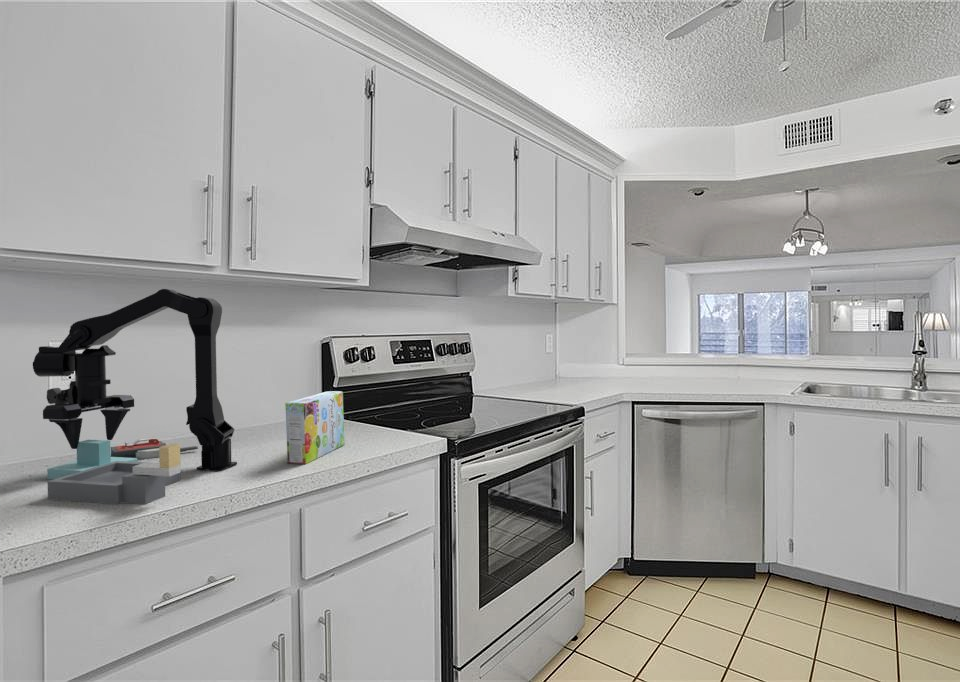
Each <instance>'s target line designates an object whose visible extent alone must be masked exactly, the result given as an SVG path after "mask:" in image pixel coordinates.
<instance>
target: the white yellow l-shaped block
mask: <svg viewBox="0 0 960 682" xmlns="http://www.w3.org/2000/svg"><path fill="white" fill-rule="evenodd" d="M180 448H181V444H180V443H169V444H168V443H167V444H166V445H165V446H161V447H159V457H158V458H159V462H147V463H142V464H139V465H136V466H133V467H132V468H133V474H134V475H151V476H168V477H169V476H172V475H175V474H177V473H181V472H182V470H181V452H180Z"/></svg>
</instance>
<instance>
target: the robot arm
mask: <svg viewBox="0 0 960 682" xmlns="http://www.w3.org/2000/svg"><path fill="white" fill-rule="evenodd" d="M168 308H169V309H172V310H174V311H176V312H179V313H182V314H186V315H187V320H188V324H189V327H190V329H191V332H192V333H193V336H194V337H193V338H194V354H195V355H194V362H195V364H194V365H195V368H194V369H195V370H194V371H195V399H194V400H195V401H194V403H193V404H191V405H188V406H186V410H185V411H186V415H187V418H186V419H187V421H186V423H185V425H186V426H188V428H189V431H190V433H192V434H193V435H194V436H195V437H196V439H197V441H198V443H199V445H200V446H201V452H200V455H201V465H200V466H197V467H196V470H198V471H199V470H200V471H214V472H215V471H216V472H217V471H218V472H221V471H223V470H226V469H229V468H231V467H233V466H236V465H238V461H232V437H233V435H234V432H235V428H234V427H233V426H232V424H230V423H228V422H227V421H226V420H225V417H224V412H223V406H222V404H221V401H220V400H219V397H218V387H217V385H218V384H217V382H218V381H217V380H218V379H217V334H218V331H219V328H220V325H221V321H222V320H221V319H222V315H223V314H222V313H223V308H222V305H221V303H220V302H218V301H217V300H216V299H214V298H208V297H202V296H201V297H194V296H191V295H187V294H184V293H181V292H177V291H176V290H174V289H169V288H161V289H159V290H157V292H154V293H152V294H150V295H148V296H146V297H143V298H141V299H140V300H137V301H134V302H132V303H130V304H128V305H126V306H124V307H121V308H119V309H117V310H115V311H112V312H110V313H107V314H103V315H99V316H93V317H90V318H86V319H81V320H78V321H75V322H73V323H72V324H71V325H70V327H69V331H68V335H67V336H66V337H65V338H64V340H63V341H62V342H61V344H60V345H59V346H50V345H49V346H48V345H47V346H46V345H45V346H39V347H38V352H37V353H36V354H35V356H34V359H33V361H32V370H33V372H34V374H35V375H36V376H37V377H39V378H41V377H46V378H47V377H70V376H71V375H72V374H73V372H74V379H75V380H71V381H70V383H69V388H66V389H61V388H59V387H53V388H50V389H47V390H46V400H47V403H48V404H49V405H46V406H45V407H44V408H43V410H42V420H48V421H49V422H50V423H55V424H56V425H57V426H59V427H60V429H61V431H62V433H63V434H64V436H65V438H66V440H67V442H68V444H69V446H70V448H71V450H77V447H78V443H79V442H80V439H81V438H80V437H81V431H82V424H83V417H80V416H81V414H82V413H85V412H86V413H87V412H91V411H97V410H100V413H101V414H102V415H103V417H104V421H105V435H106V436H105V437H106V439H107V440H106V441H113V439H114V437H115V436H116V433H117V431H118V429H119V428H120V425H121V423H122V422H123V420H124V419H125V417H126V416H127V414H128V412H130V411H131V408H134V407H135V399H134V397H133V396H132V395H131V394H130V395H129V394H128V395H127V394H112V395H107V385H110V384H111V379H108V378H107V375H106V374H107V370H106V357H109V356H110V357H111V356H115V355H116V354H117V352H116V351H114V350H113V349H111V348H110V347H109V346H108V345H107V344H105V343H107V342H109V340H111V339H112V338H114V337H115V336H117V334H119V332H121V331H122V330H123V329H125V328H127V327H128V326H129V327H130V326H131V325H133V324H135V323H138V322H140V321H143V320H145V319H146V318H148V317H151V316H153V315H155V314H157V313H160V312H162V311H164V310H166V309H168ZM103 344H105V345H103ZM100 345H101V346H100ZM95 346H100V347H99V348H91V347H95ZM76 351H82V352H81V353H79V352H76Z"/></svg>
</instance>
